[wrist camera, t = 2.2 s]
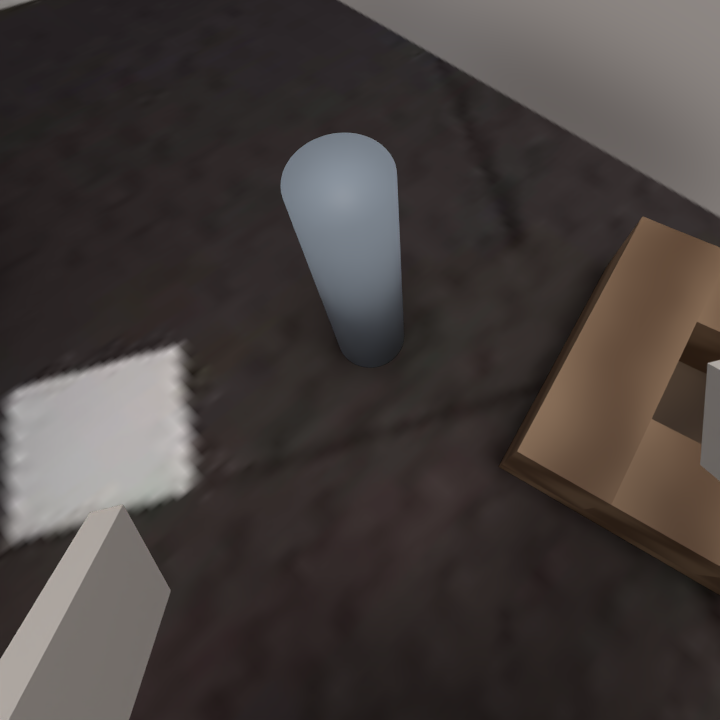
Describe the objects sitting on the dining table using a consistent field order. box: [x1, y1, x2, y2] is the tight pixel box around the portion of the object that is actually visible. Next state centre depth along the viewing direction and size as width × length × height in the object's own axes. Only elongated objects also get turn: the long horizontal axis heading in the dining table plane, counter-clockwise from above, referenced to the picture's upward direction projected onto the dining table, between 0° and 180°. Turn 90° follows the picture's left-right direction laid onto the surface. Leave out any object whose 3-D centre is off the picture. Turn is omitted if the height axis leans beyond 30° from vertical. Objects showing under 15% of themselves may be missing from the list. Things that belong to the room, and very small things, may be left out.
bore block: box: [499, 217, 720, 595], centre depth 24 cm, size 14×14×5 cm
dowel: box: [281, 133, 404, 368], centre depth 23 cm, size 4×4×14 cm
